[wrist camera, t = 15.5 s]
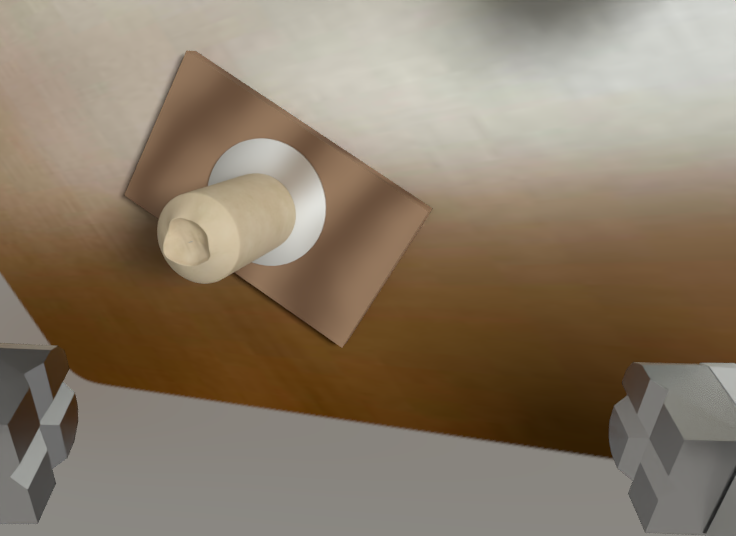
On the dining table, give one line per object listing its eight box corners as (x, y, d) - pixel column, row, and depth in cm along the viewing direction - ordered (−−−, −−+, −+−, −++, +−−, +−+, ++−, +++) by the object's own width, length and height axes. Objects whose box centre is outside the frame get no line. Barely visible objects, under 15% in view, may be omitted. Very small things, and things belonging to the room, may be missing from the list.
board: (432, 208, 46) (428, 212, 45) (347, 341, 51) (340, 349, 49) (195, 51, 48) (184, 50, 47) (133, 192, 53) (121, 195, 51)
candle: (243, 258, 50) (165, 301, 41) (213, 186, 49) (127, 214, 40) (308, 236, 48) (242, 276, 39) (279, 161, 47) (204, 183, 38)
